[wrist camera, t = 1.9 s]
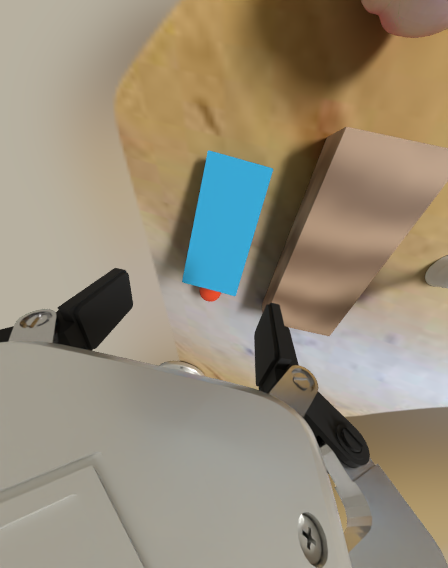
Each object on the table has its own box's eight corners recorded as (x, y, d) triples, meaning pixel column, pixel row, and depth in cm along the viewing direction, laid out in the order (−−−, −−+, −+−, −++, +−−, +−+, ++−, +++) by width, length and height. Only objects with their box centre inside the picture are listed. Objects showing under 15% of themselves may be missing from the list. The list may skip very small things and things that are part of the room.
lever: (214, 174, 24) (189, 291, 29) (208, 150, 17) (176, 308, 22) (262, 187, 24) (228, 301, 29) (273, 168, 17) (227, 321, 22)
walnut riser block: (319, 317, 29) (329, 336, 25) (261, 304, 29) (263, 321, 25) (424, 158, 17) (469, 153, 14) (326, 137, 17) (346, 126, 14)
